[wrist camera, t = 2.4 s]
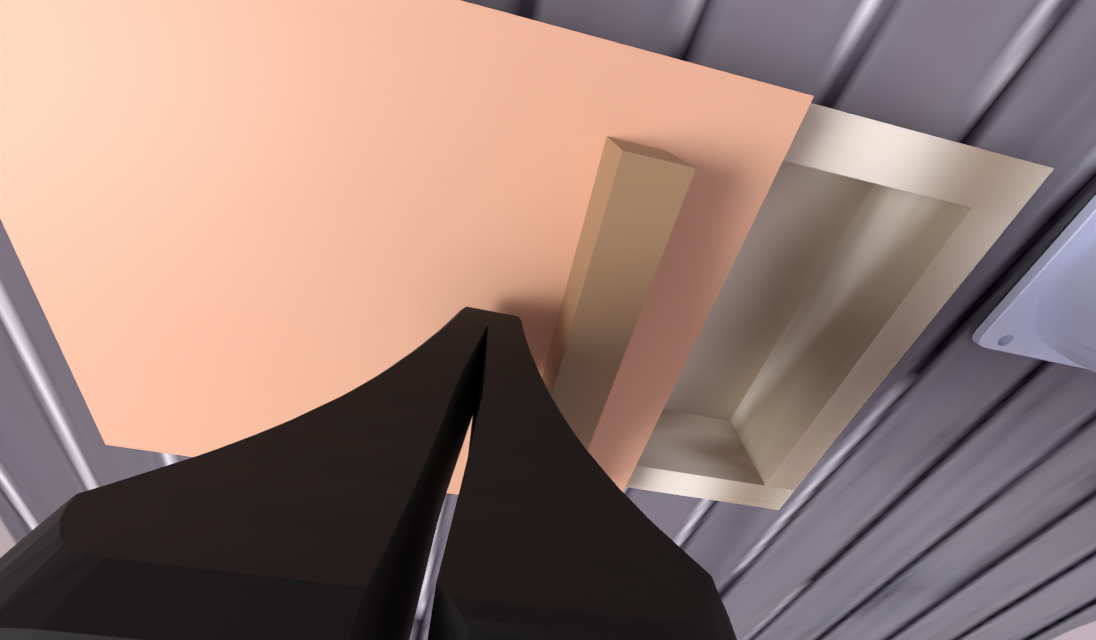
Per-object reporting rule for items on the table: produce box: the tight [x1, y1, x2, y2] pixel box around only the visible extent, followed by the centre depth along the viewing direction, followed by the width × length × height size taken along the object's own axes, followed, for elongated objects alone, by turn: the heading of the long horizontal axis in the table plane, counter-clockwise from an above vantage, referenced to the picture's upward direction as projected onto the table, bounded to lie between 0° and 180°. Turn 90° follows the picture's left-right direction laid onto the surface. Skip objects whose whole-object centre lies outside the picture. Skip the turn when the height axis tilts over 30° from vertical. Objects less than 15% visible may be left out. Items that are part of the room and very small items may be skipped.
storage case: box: [626, 103, 1054, 510], centre depth 14 cm, size 16×13×4 cm
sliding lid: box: [0, 0, 814, 495], centre depth 9 cm, size 16×13×3 cm
